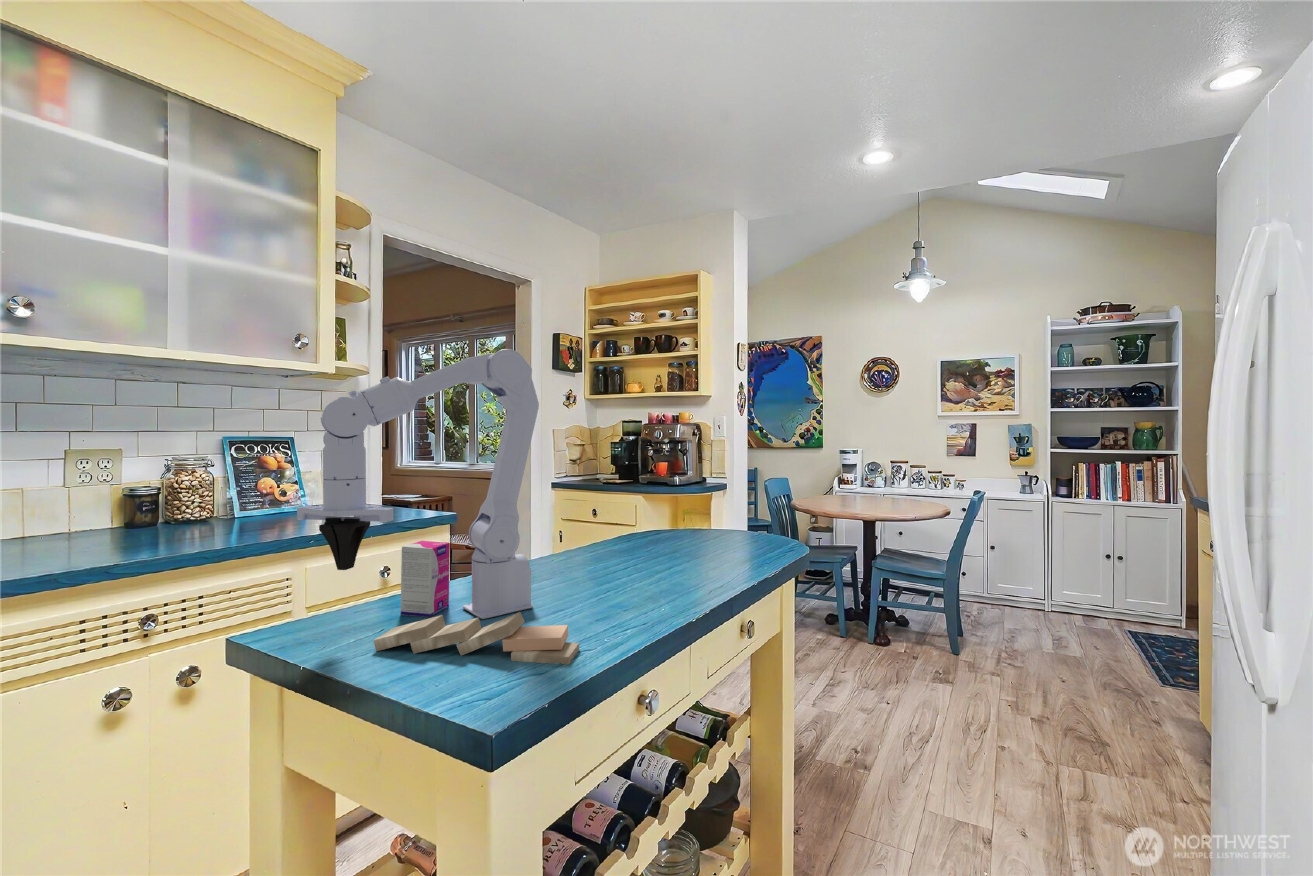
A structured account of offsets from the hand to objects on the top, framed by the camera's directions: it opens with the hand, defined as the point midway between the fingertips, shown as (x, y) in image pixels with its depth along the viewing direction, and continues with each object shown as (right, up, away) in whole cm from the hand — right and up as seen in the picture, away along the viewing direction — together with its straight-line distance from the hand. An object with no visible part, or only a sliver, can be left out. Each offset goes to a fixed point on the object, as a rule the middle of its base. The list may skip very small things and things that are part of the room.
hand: (345, 568), depth 88 cm
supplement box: (+8, -10, +11) cm, 17 cm away
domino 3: (+20, -9, -6) cm, 23 cm away
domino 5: (+28, -10, -7) cm, 30 cm away
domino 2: (+13, -9, -5) cm, 17 cm away
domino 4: (+26, -8, -6) cm, 28 cm away
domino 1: (+8, -9, -4) cm, 13 cm away
